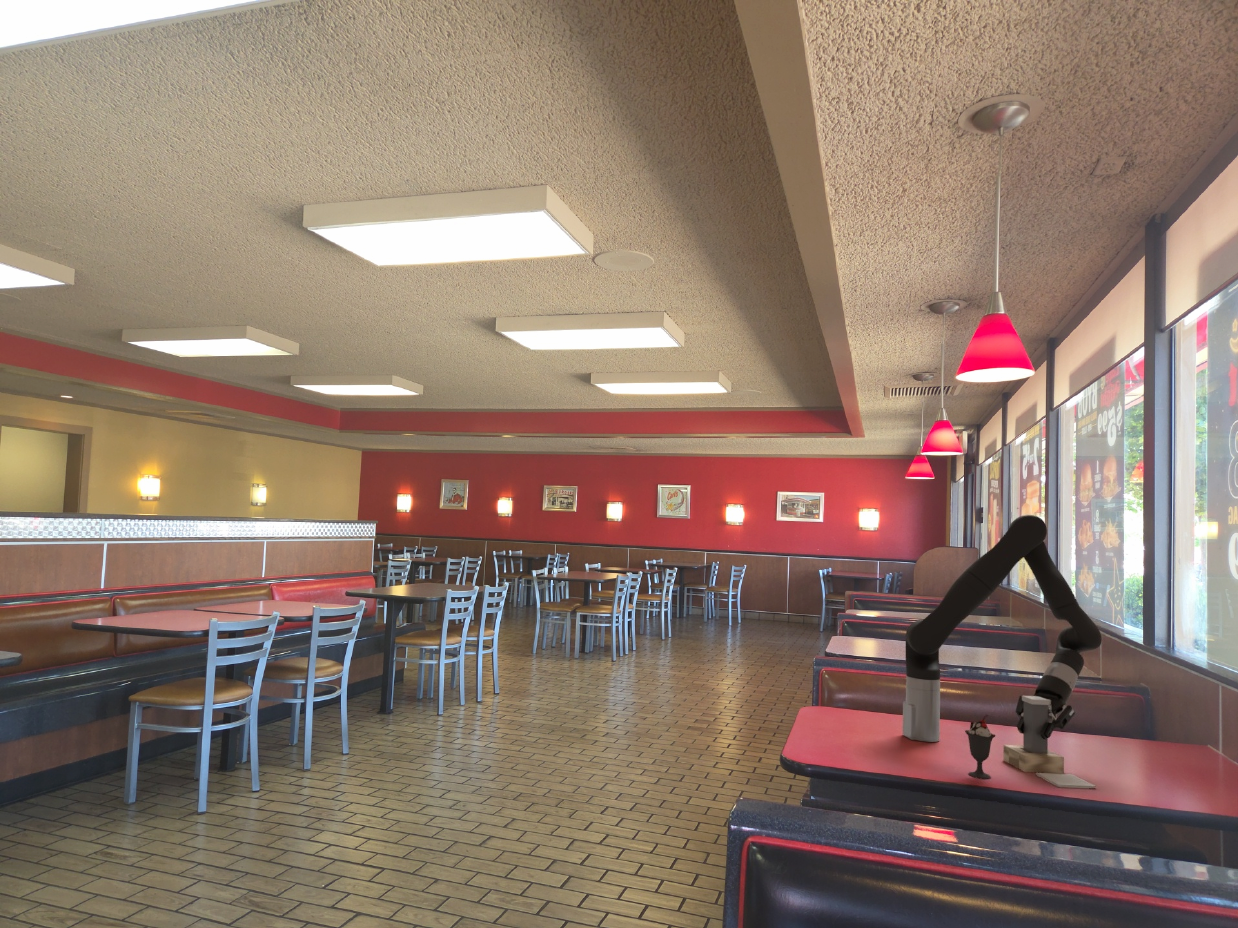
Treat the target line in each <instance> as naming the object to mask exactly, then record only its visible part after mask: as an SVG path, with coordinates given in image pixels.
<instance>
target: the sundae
mask: <svg viewBox="0 0 1238 928" xmlns="http://www.w3.org/2000/svg"><path fill="white" fill-rule="evenodd" d="M988 717H989V715H988V714H985V715H984V716H983V718H982V719H980V720H979V721H975V722H974V721H971V722H970V726H969V730H968V729H965V730H964V732H965V734H966V735H967V738H968V744H969V745H968V746H969V752H970V755H971V756H972V758H973V759H974V760H975V761H976V770H975V771H969V772H968V775H969V776H970V777H972V778H975V777H977V778H976V779H980V778H982V779H981V780H990V779H991V778H992V776H991V775H990V774H987V773H985V772H984V769H983V762H984V761H986V760H987V759H988V758H990V757H989V755H990V752H991V744H992V741H993V739H994V738H995V737H996V734H993V733H992V732H991V731H990V729H989V728H988V725H987V723H986V720H985V719H986V718H988ZM989 778H990V779H989Z"/></svg>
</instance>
